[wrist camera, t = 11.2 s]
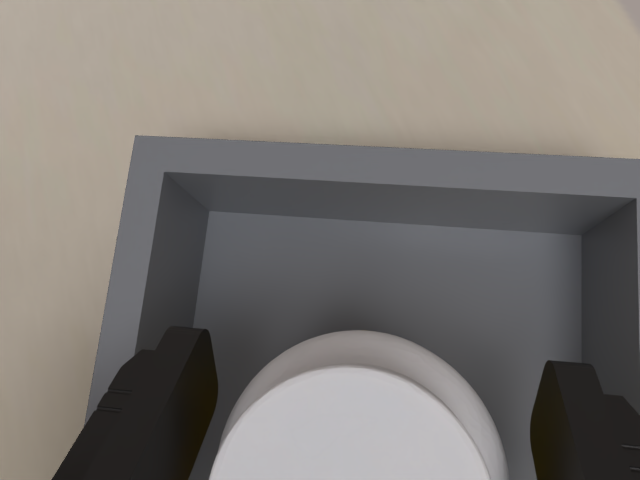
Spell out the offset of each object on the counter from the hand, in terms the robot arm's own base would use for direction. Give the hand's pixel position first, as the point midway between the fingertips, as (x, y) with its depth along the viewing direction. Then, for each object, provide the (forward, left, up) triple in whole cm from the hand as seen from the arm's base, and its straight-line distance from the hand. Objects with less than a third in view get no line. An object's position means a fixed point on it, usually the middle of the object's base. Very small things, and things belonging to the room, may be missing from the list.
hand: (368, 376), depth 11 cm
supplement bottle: (0, -2, -7) cm, 7 cm away
